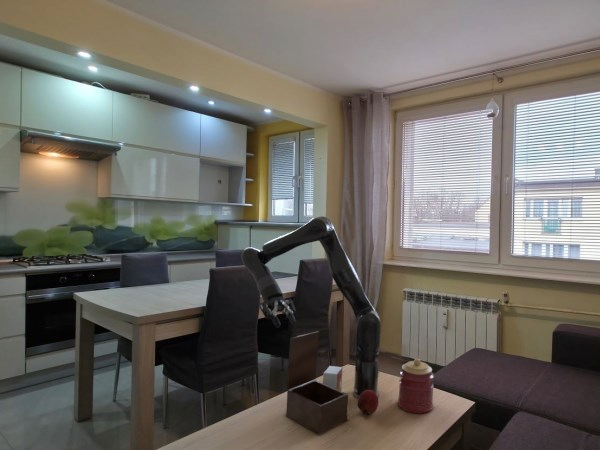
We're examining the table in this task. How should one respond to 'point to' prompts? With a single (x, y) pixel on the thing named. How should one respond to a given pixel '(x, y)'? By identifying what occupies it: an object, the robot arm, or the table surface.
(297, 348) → the lid
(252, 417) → the table surface
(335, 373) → the small box
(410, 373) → the kitchen canister
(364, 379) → the robot arm
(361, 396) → the apple
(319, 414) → the chest
